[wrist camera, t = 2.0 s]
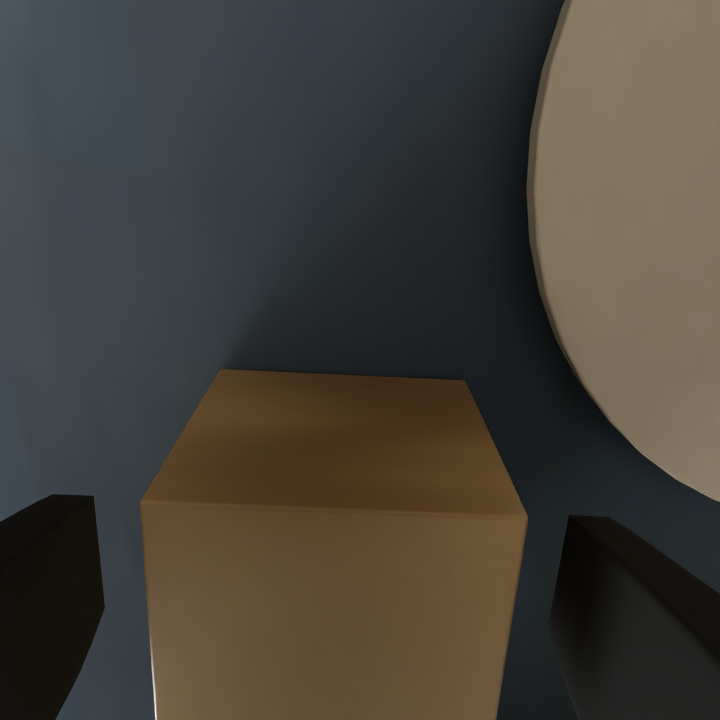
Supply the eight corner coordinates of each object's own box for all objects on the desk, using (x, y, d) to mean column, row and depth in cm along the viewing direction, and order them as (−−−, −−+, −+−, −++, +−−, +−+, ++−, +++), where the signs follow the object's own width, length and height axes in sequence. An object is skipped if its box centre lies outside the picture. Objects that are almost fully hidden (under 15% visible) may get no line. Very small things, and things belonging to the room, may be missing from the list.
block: (465, 379, 11) (530, 517, 7) (442, 583, 13) (485, 797, 9) (219, 367, 11) (138, 501, 7) (224, 574, 13) (158, 787, 8)
